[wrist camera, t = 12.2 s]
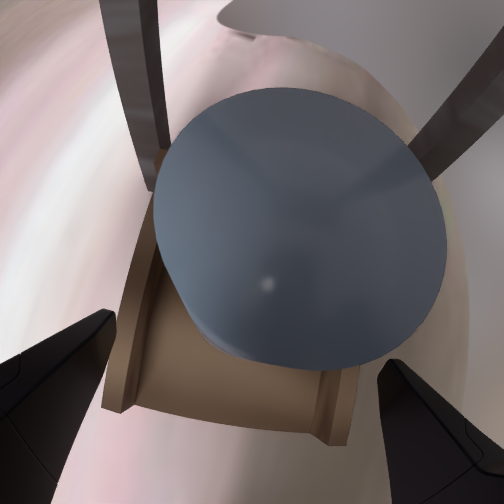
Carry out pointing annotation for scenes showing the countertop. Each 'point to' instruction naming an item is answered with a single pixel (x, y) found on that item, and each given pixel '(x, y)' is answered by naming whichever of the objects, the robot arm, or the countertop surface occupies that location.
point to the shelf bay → (168, 299)
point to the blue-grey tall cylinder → (299, 230)
